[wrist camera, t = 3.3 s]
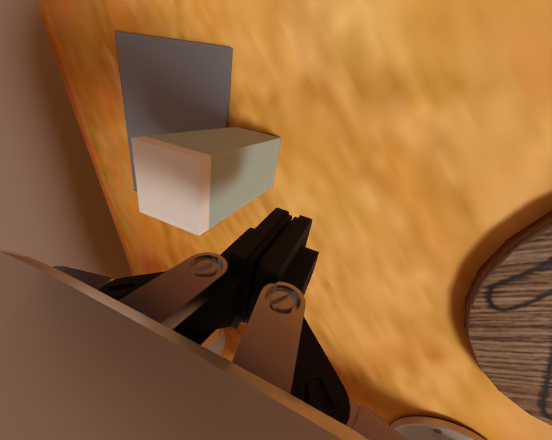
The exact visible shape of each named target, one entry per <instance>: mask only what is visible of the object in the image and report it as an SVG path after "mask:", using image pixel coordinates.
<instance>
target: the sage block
mask: <svg viewBox="0 0 552 440" xmlns="http://www.w3.org/2000/svg"><path fill="white" fill-rule="evenodd" d="M131 142H132V150H133V158H134V167H135V175H136V184H137V192H138V201H139V209H140V212H142V213H144V214H147V215H149V216H151V217H154V218H156V219H159V220H161V221H164V222H166V223H169V224H171V225H173V226H176V227H178V228H181V229H183V230H186V231H188V232H191V233H193V234H195V235H198V236H199V235H201V234H202V233H204V232H205V231H207V230H208V229H210V228H211V227H213V226H214V225H216V224H217V223H219V222H220V221H222V220H223V219H225V218H226V217H228V216H229V215H231V214H232V213H234V212H235V211H237V210H238V209H240V208H241V207H243V206H244V205H246V204H247V203H249V202H250V201H252V200H253V199H255V198H256V197H258V196H259V195H261V194H262V193H264V192H265V191H267V190H268V189H270V188H271V187H273V184H274V178H275V172H276V166H277V160H278V154H279V148H280V142H281V137H277V136H273V135H268V134H264V133H260V132H256V131H252V130H248V129H244V128H240V127H228V128H219V129H209V130H200V131H190V132H181V133H171V134H162V135H152V136H143V137H133V138H131Z"/></svg>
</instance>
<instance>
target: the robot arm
mask: <svg viewBox="0 0 552 440" xmlns="http://www.w3.org/2000/svg"><path fill="white" fill-rule="evenodd" d="M291 220H292V216H291V215H289V212H288V211H286V210H283V209H280V208H276V209H275V210H274V211H273V212H272V213H270V214H269V215H268V216H267V217H266V218H265V219H264V220H263V221H262V222H261V223H260V224H259V225H258V226H257V227H256V228H255V229H253V228H249V229H248V230H247V231H246V232H245V233H244V234H242V235H241V236H240V237H239V238H238V239H237V240H236V241H235V242H234V243H233V244H232V245H231V246H229V247H228V248H227V249H226V250H225V251H224V252H223V253H222V254H221V255H218V254H216V253H210V252H207V253H199V254H196V255H193V256H191V257H190V258H188V259H186V260H185V261H183V262H181V263H180V264H178V265H176V266H175V267H173V268H171V269H170V270H168V271H166V272H159V273H152V274H145V275H138V276H131V277H124V278H119V279H116V280H113V277H109V276H104V275H100V274H95V273H92V272H87V271H83V270H78V269H74V268H70V267H64V266H54V267H51V266H49V265H47V264H45V263H43V262H40V261H38V260H36V259H33V258H30V257H27V256H24V255H21V254H18V253H14V252H10V251H5V250H1V249H0V440H485V439H484V438H482V437H480V436H479V435H477V434H476V433H474V432H472V431H470V430H468V429H466V428H464V427H462V426H459V425H457V424H454V423H451V422H448V421H445V420H441V419H437V418H431V417H421V416H413V417H405V418H401V419H398V420H396V421H395V422H393V423H392V424H391V425H388V424H387V423H386V422H385V421H383V420H382V419H381V418H379V417H378V416H377V415H376V414H374V413H373V412H372V411H371V410H369V409H368V408H367V407H365V406H364V405H363V404H362V405H361V407H359V406H358V405H357V404H355V403H354V402H353V401H352V400H350V399H349V397H348V395H347V392H346V390H345V388H344V386H343V384H342V382H341V381H340V379H339V377H338V375H337V374H336V372H335V370H334V368H333V367H332V365H331V363H330V361H329V360H328V358H327V356H326V355H325V353H324V351H323V349H322V348H321V346H320V344H319V342H318V341H317V339H316V337H315V335H314V334H313V332H312V330H311V328H310V327H309V325H308V323H307V321H306V320H305V318H304V311H305V298H304V294H305V291H306V289H307V286H308V284H309V281H310V279H311V276H312V273H313V270H314V267H315V264H316V261H317V257H318V254H319V252H317V251H314V250H312V249H309V248H306V247H305V246H306V243H307V239H308V235H309V231H310V228H311V224H312V219H310V218H307V217H304V216H301V215H300V216H299V218H297V217H294V218H293V220H292V221H291ZM241 322H244V323H246V322H247V327H246V329H245V332H244V334H243V336H242V339H241V341H240V344H239V346H238V349H237V351H236V353H235V356H234V358H233V361H232V362H230V361H229V360H227V359H225V358H223V357H221V356H219V355H218V354H216V353H214V352H212V351H210V350H208V349H207V348H208V347H209V346H210V345H211V344H212V343H213V342H214V341H215V340H216V338H217V337H218V336H219V335H220V333H221V332H222V329H223V328H225V327H229V326H232V327H234V328H236V329H237V328H238V326H239V325H240V323H241Z"/></svg>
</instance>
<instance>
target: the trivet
mask: <svg viewBox="0 0 552 440" xmlns="http://www.w3.org/2000/svg"><path fill="white" fill-rule="evenodd" d="M464 326H465V329H466V332H467V335H468V337H469V340H470V343H471V346H472V348H473V351H474V354H475V357H476V359H477V362H478V365H479V366H480V368H481V369H482V370H483V371H484V373H485V374H486V375H487V376H488V378H489V379H490V380H491V381H492V383H493V384H494V385H495V386H496V388H497V389H498V390H499V391H500V392H501V393H503V394H504V395H505V396H507V397H508V398H509V399H510V400H512V401H513V402H514V403H516V404H517V405H518V406H519V407H521V408H522V409H523V410H525V411H526V412H527V413H529V414H530V415H532V416H534V417H536V418H538V419H540V420H542V421H544V422H545V423H547V424H549V425H551V426H552V211H551V212H549V213H548V214H546V215H545V216H543V217H541V218H540V219H538V220H537V221H535V222H534V223H532V224H531V225H529V226H528V227H526V228H524V229H523V230H521V231H520V232H518V233H517V234H515V235H514V236H512V237H511V238H509V239H507V240H506V241H505V242H504V244H503V245H502V246H501V247H500V248H499V249H498V250H497V251H496V252H495V253H494V254H493V255H492V256H491V257H490V258H489V259H488V260H487V262H486V263H485V264H484V265H483V266H482V267H481V268H480V269H479V271H478V273H477V275H476V277H475V279H474V281H473V283H472V286H471V288H470V290H469V292H468V294H467V296H466V300H465V321H464Z"/></svg>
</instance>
